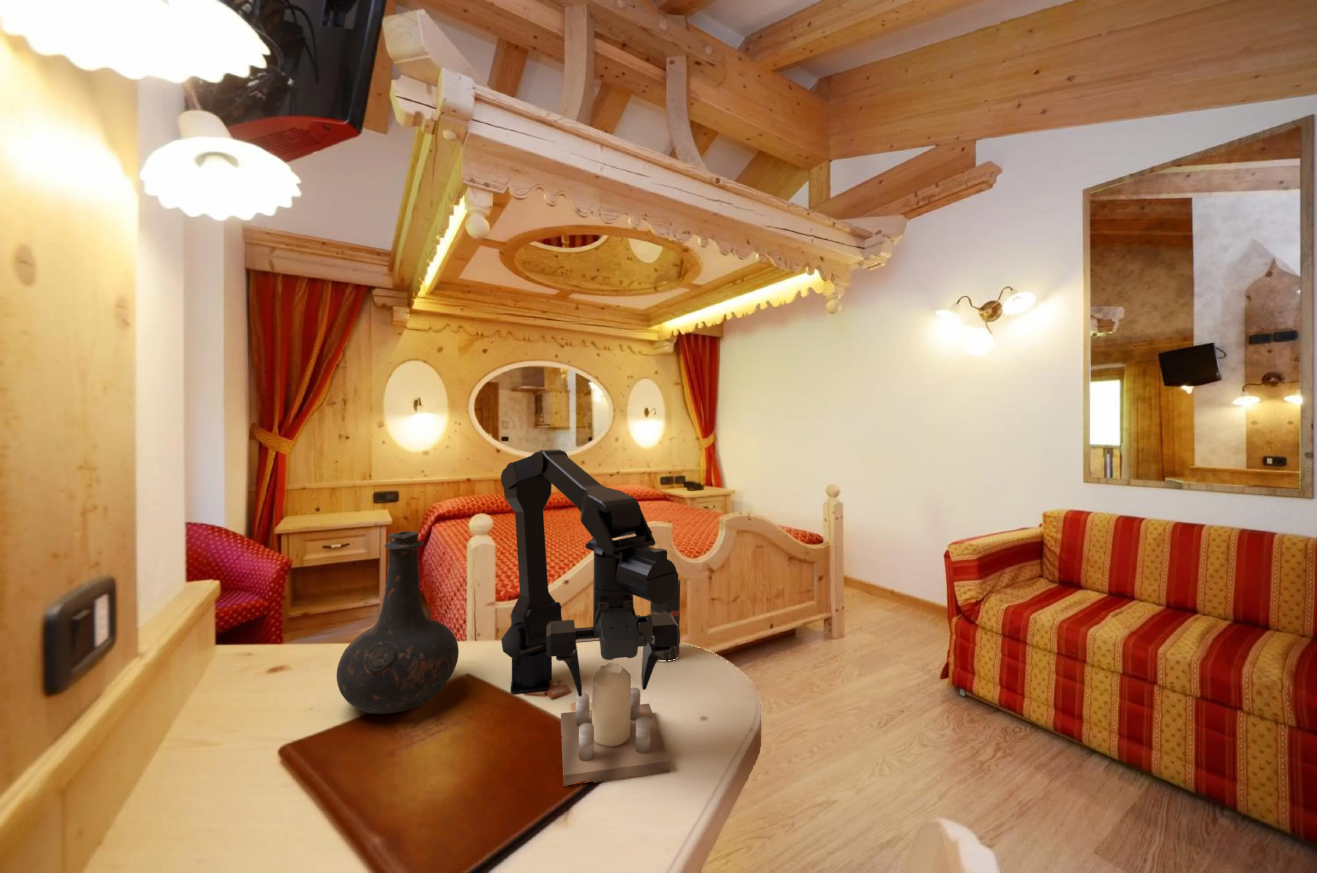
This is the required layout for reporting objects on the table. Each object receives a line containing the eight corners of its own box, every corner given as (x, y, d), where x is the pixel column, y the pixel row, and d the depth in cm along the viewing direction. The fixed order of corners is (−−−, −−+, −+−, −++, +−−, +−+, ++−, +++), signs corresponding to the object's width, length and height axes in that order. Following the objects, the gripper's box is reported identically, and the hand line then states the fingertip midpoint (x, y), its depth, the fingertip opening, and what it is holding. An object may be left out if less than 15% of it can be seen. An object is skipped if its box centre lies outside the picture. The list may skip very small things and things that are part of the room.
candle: (624, 750, 70) (625, 678, 69) (586, 744, 71) (587, 674, 70) (634, 726, 75) (635, 660, 75) (598, 721, 76) (599, 656, 76)
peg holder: (563, 786, 65) (564, 744, 64) (560, 722, 78) (561, 687, 78) (669, 771, 68) (670, 731, 67) (649, 712, 81) (649, 679, 81)
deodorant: (684, 659, 100) (685, 584, 99) (656, 664, 97) (657, 587, 97) (671, 646, 105) (672, 575, 105) (645, 651, 103) (646, 578, 102)
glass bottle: (311, 731, 75) (310, 545, 74) (375, 672, 93) (375, 521, 92) (432, 731, 76) (432, 546, 75) (472, 672, 94) (473, 522, 93)
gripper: (546, 609, 62) (545, 733, 63) (691, 600, 66) (690, 716, 67) (546, 581, 73) (546, 687, 74) (671, 574, 77) (670, 675, 78)
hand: (612, 691), depth 73 cm, fingers open, 9 cm apart
